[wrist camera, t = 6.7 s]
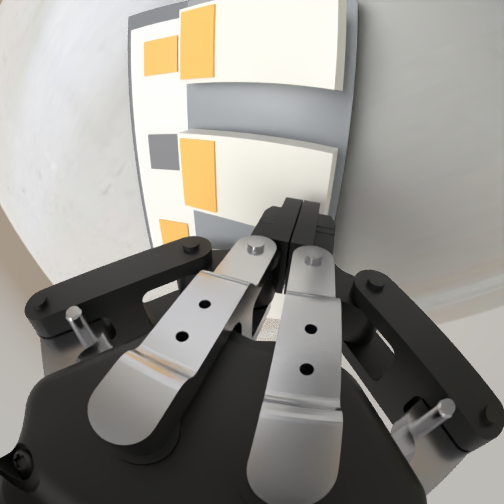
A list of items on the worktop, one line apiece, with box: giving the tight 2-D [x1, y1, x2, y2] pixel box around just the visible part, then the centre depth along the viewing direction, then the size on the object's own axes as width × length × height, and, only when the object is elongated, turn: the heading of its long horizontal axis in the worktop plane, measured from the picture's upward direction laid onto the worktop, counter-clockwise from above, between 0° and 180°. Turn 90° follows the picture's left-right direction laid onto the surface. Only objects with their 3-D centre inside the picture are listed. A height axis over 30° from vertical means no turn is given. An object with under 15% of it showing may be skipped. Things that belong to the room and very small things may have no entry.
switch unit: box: [128, 0, 358, 250], centre depth 19 cm, size 25×17×4 cm
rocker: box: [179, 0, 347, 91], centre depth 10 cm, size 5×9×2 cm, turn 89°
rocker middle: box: [177, 129, 338, 226], centre depth 15 cm, size 5×9×2 cm, turn 89°
